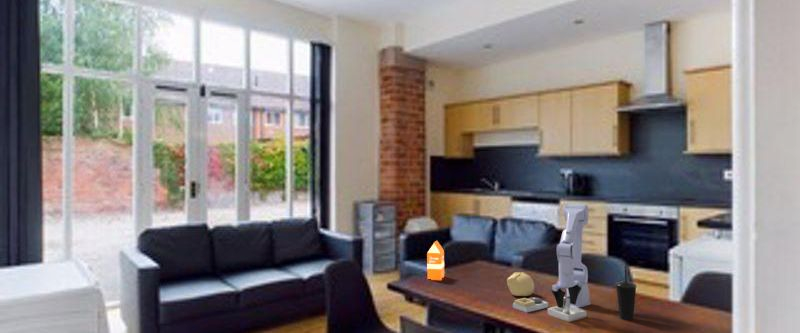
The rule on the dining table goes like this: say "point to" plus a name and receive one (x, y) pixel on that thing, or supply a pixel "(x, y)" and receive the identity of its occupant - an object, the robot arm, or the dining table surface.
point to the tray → (574, 314)
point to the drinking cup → (626, 298)
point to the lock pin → (566, 305)
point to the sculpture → (520, 284)
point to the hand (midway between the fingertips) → (566, 305)
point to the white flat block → (529, 304)
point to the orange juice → (435, 262)
